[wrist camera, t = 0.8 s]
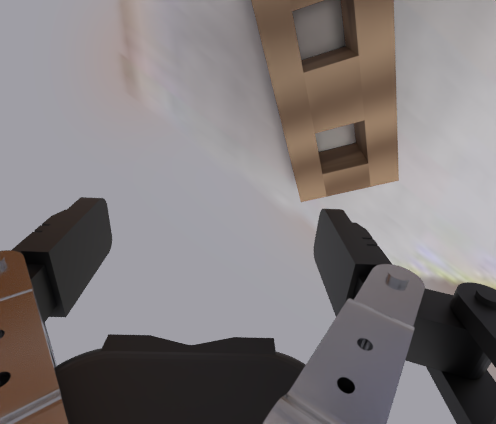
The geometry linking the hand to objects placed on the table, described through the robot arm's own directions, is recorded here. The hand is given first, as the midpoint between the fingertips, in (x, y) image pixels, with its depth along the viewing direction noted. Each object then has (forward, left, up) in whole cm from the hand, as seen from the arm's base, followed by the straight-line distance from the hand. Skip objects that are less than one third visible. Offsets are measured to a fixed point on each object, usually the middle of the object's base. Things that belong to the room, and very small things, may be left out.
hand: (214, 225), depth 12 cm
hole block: (+3, +8, -24) cm, 25 cm away
